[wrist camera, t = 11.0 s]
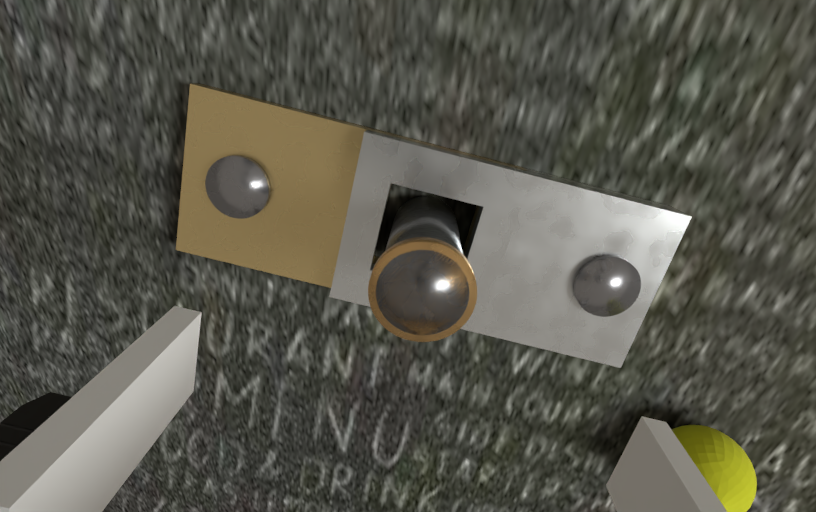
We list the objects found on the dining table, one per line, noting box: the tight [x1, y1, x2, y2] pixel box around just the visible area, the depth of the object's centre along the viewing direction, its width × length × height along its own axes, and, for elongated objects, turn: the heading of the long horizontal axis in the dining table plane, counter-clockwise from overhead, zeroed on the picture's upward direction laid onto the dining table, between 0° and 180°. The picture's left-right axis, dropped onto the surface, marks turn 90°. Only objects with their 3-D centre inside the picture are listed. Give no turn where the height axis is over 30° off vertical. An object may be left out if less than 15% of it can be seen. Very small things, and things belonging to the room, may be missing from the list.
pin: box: [368, 196, 477, 342], centre depth 30 cm, size 6×6×12 cm
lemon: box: [672, 425, 757, 512], centre depth 37 cm, size 7×7×10 cm
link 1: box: [176, 84, 527, 288], centre depth 35 cm, size 12×23×2 cm, turn 76°
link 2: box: [329, 130, 691, 368], centre depth 34 cm, size 12×22×4 cm, turn 76°
